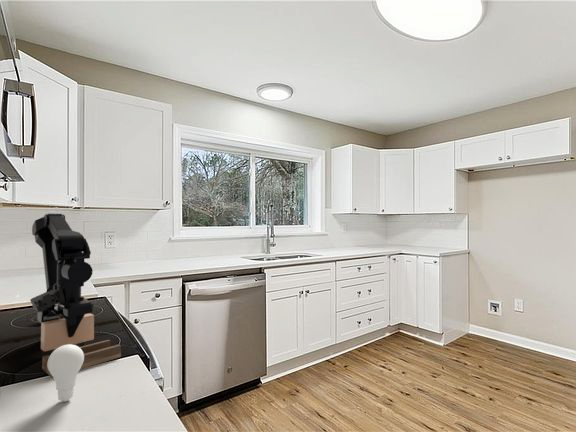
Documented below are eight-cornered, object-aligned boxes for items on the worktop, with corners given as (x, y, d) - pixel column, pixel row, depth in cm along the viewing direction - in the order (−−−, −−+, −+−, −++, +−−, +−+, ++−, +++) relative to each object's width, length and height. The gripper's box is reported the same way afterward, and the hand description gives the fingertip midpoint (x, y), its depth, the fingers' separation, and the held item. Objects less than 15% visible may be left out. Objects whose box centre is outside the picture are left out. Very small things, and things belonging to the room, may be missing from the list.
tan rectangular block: (40, 348, 90) (41, 322, 90) (89, 337, 99) (89, 313, 99) (44, 351, 88) (44, 324, 88) (93, 339, 97) (94, 314, 97)
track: (41, 368, 82) (42, 356, 82) (108, 350, 94) (108, 339, 94) (52, 377, 77) (52, 364, 77) (120, 356, 89) (121, 345, 89)
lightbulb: (89, 393, 70) (90, 339, 70) (71, 409, 64) (72, 350, 64) (59, 393, 70) (60, 340, 70) (39, 409, 64) (39, 351, 64)
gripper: (24, 279, 93) (23, 336, 93) (45, 287, 82) (44, 352, 81) (69, 275, 102) (68, 326, 102) (94, 281, 90) (94, 339, 90)
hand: (68, 335), depth 93 cm, fingers closed on tan rectangular block, 3 cm apart
